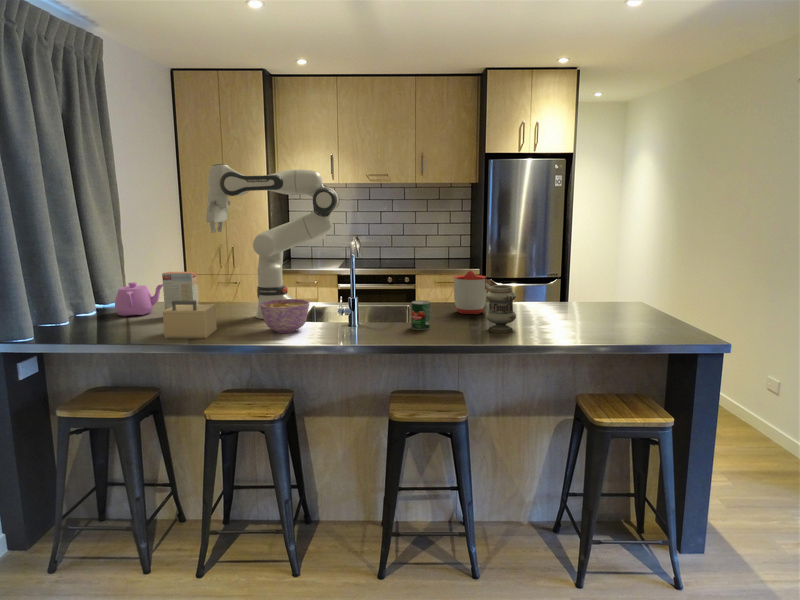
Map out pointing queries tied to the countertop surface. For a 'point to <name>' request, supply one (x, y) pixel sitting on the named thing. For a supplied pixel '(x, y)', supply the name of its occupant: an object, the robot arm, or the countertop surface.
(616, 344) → the countertop surface
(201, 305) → the wooden box lid
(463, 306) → the citrus juicer
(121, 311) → the teapot
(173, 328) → the open wooden box
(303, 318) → the bowl of food
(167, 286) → the cracker box
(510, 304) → the apothecary jar
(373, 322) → the countertop surface
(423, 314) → the canned tomato
